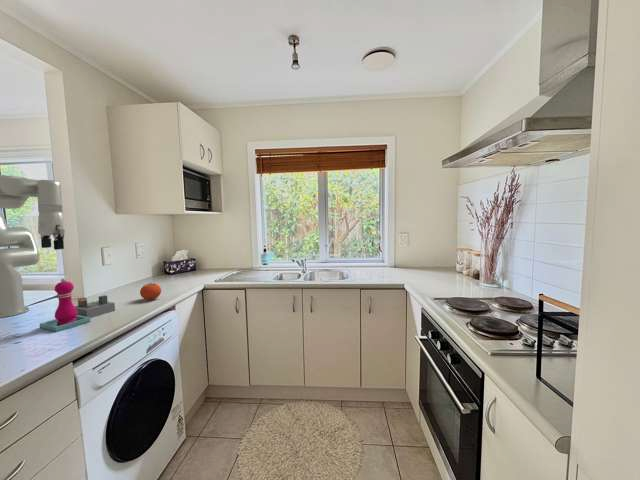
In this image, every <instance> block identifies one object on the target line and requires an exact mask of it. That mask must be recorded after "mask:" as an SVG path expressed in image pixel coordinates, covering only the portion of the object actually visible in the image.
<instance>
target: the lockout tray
mask: <svg viewBox="0 0 640 480" xmlns="http://www.w3.org/2000/svg"><path fill="white" fill-rule="evenodd" d="M75 318H76V319H77V321H74V322H71V323H67V324H64V325H60V326H57V321H58V320H57V319H56V318H55V319H52V320H47V321H44V322H43V321H42V322H39V329H42V330H46V331H49V332H54V333H59V332H62V331H65V330H68V329H71V328H75V327H78V326H82V325H86V324H88V323H91V318H90V317H85V316H80V315H76V317H75Z"/></svg>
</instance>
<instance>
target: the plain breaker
mask: <svg viewBox="0 0 640 480" xmlns="http://www.w3.org/2000/svg"><path fill="white" fill-rule="evenodd" d="M98 300H99V304H105V303H108V302H109V301H108V295H106V294H104V295H100V296H98Z"/></svg>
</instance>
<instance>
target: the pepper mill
mask: <svg viewBox="0 0 640 480" xmlns="http://www.w3.org/2000/svg"><path fill="white" fill-rule="evenodd" d="M74 287H75V285H74V284H73V283H72V282H70V281H67V278H63V277H62V278H61V279H60V281H59V282H58V283H56V284H55V286H54V292H55V293H56V298H57V299H58V306H57V308H56V310H55V313H54V318H55V319H57V320H58V321H57V326H60V325H64V324H67V323H71V322H74V321H77V319H76V318H75V317H76V315H77V313H78V312H77V309H76V308H75V306H76V305H74V304H73V301H72V296H73V295H74V294H73V290H74Z"/></svg>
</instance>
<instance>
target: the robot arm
mask: <svg viewBox="0 0 640 480" xmlns="http://www.w3.org/2000/svg"><path fill="white" fill-rule="evenodd" d="M62 193H63V192H62V184H61V182H60V181H57V180H52V179H33V178H32V179H31V178H27V177H24V176H14V175H6V174H5V175H4V174H0V209H6V210H7V209H8V210H11V209H13V210H16V209H20V208H22V207H23V206H24V205H25V204H26V202H27V201H28V200H29V198H37V210H38V217H37V218H38V220H37V221H38V222H37V233H38V235H40V240H41V241H40V242H41V243H40V244H41V248H42V249H48V248H52V238H51V236H52V237H53V239H54V240H53V250H56V251H57V250H63V249H65V245H64V240H65V232H66V231H65V229H64V222H63V221H64V220H63V215H62V213H63V197H62ZM39 261H40V253H39V250H38V247H37V244H36V241H35V238H34V236H33V234H32V232H31V230H29V229H28V228H26V227H22V226H14V227H13V226H12V227H11V226H9V225H8V223H7V220H6V218H5V216H3V215H2V214H0V318H6V317H12V316H17V315H21V314H23V313H24V314H25V313H26V312H28V311H30V307H27V306H25V300H24V299H25V298H24V289H23V288H24V287H23V278H22V275H21V273H20V272H19V271H17V270H16V269H15V268H18V267H20V268H21V267H27V266H33V265H37V264H38V263H39Z"/></svg>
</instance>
